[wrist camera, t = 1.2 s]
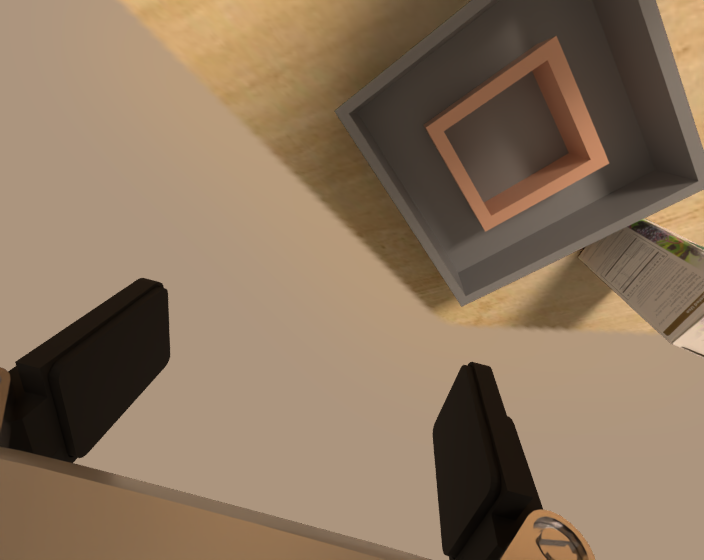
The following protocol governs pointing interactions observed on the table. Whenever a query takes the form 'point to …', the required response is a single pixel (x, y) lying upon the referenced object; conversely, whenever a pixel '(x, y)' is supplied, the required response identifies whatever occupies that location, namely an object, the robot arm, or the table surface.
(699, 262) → the syrup box
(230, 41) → the table surface
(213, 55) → the table surface
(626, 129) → the walled box
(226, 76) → the table surface
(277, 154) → the table surface
